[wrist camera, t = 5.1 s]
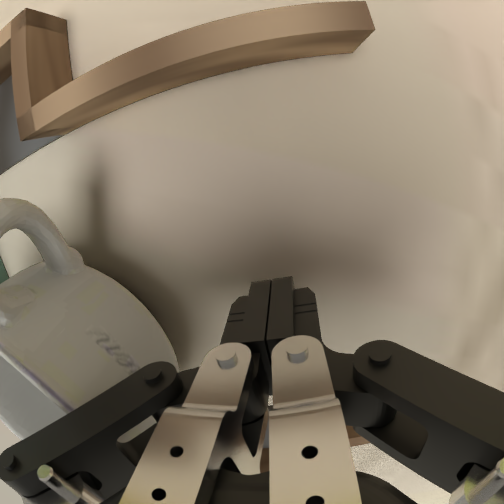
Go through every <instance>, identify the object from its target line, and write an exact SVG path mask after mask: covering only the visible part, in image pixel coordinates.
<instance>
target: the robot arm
mask: <svg viewBox="0 0 504 504" xmlns="http://www.w3.org/2000/svg"><path fill="white" fill-rule="evenodd" d="M269 395H273V409H270V411H268V408H267V407H268V398H269ZM151 415H152V416H153V418H154V419H155V420H156V422H157V423H155V424H154V425H152V426H151V427H149V428H148V429H146V430H145V431H144V432H142V433H141V434H139V435H138V436H136V437H135V438H133V439H132V440H130V441H128V442H125V443H121V442H118V441H117V439H118V438H119V437H120V436H121V435H123V434H124V433H126V432H127V431H129V430H130V429H132V428H133V427H135V426H136V425H138V424H139V423H141V422H142V421H144V420H145V419H147V418H148V417H150V416H151ZM268 417H269V469H270V471H267V472H263V473H260V459H261V454H262V449H263V443H264V438H265V433H266V428H267V423H268ZM346 425H347V426H352V427H353V429H354V430H355V432H356V433H358V434H359V435H360V436H362V437H363V438H365V439H366V440H367V441H369V442H370V443H372V444H373V445H375V446H376V447H378V448H379V449H380V450H382V451H383V452H385V453H386V454H388V455H389V456H391V457H392V458H394V459H395V460H397V461H398V462H400V463H401V464H403V465H405V466H406V467H408V468H409V469H411V470H412V471H414V472H416V473H417V474H419V475H420V476H422V477H424V478H425V479H427V480H429V481H430V482H432V483H434V484H435V485H437V486H439V487H440V488H442V489H444V490H445V491H447V492H449V493H451V497H450V500H449V504H504V392H501V391H499V390H497V389H495V388H492V387H490V386H488V385H486V384H483V383H481V382H479V381H477V380H475V379H472V378H470V377H468V376H466V375H463V374H461V373H459V372H457V371H455V370H453V369H450V368H448V367H446V366H444V365H442V364H439V363H437V362H435V361H433V360H431V359H429V358H426V357H424V356H422V355H420V354H418V353H416V352H414V351H411V350H409V349H407V348H405V347H403V346H401V345H399V344H397V343H394V342H391V341H386V340H376V341H371V342H368V343H366V344H364V345H362V346H361V347H359V348H358V349H357V350H356V352H355V353H354V354H344V353H338V352H335V351H332V350H330V349H329V348H327V347H326V346H325V345H324V344H323V342H322V339H321V332H320V325H319V318H318V312H317V305H316V299H315V294H314V293H313V292H312V291H311V290H310V289H309V288H308V287H307V288H300V289H294V283H293V278H292V276H291V277H284V278H277V279H272V280H264V281H257V282H252V283H251V287H250V291H249V296H243V297H239V298H238V299H237V300H236V301H235V302H234V303H233V304H232V306H231V309H230V312H229V316H228V319H227V323H226V326H225V329H224V333H223V336H222V339H221V343H220V345H219V346H217V347H215V348H213V349H212V350H210V351H209V352H208V353H207V354H206V355H205V357H204V359H203V361H202V363H201V366H200V367H197V368H193V369H190V370H186V371H182V372H177V370H176V368H175V366H174V365H173V364H171V363H169V362H165V361H158V362H153V363H150V364H148V365H146V366H144V367H142V368H141V369H139V370H138V371H136V372H135V373H133V374H131V375H130V376H128V377H127V378H125V379H124V380H122V381H120V382H119V383H117V384H116V385H114V386H112V387H111V388H109V389H108V390H106V391H104V392H103V393H101V394H100V395H98V396H96V397H95V398H93V399H91V400H90V401H88V402H86V403H85V404H83V405H82V406H80V407H78V408H77V409H75V410H73V411H72V412H70V413H68V414H67V415H65V416H63V417H61V418H60V419H58V420H56V421H55V422H53V423H51V424H50V425H48V426H46V427H44V428H43V429H41V430H39V431H37V432H36V433H34V434H32V435H30V436H29V437H27V438H25V439H23V440H22V441H20V442H18V443H16V444H15V445H13V446H11V447H9V448H7V449H6V450H5V451H3V453H2V454H1V455H0V479H2V480H3V481H4V482H5V483H6V484H8V485H9V486H10V487H12V488H13V489H14V490H15V491H17V492H18V494H19V495H20V496H21V497H22V499H23V502H24V504H417V503H416V502H415V501H413V500H412V499H410V498H409V497H408V496H406V495H405V494H403V493H402V492H401V491H399V490H398V489H397V488H395V487H394V486H392V485H391V484H389V483H388V482H386V481H384V480H382V479H380V478H378V477H375V476H373V475H370V474H366V473H363V472H358V471H355V466H354V462H353V457H352V452H351V448H350V443H349V439H348V434H347V430H346Z"/></svg>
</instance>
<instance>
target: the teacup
mask: <svg viewBox="0 0 504 504" xmlns="http://www.w3.org/2000/svg"><path fill="white" fill-rule="evenodd" d="M14 228H17V229H20V230H21V231H23V232H24V233H25V234H26V235H27V236H28V237H29V238H30V239H31V240H32V242H33V243H34V244H35V245H36V247H37V249H38V250H39V252H40V253H41V255H42V257H43V260H44V262H41V263H38V264H35V265H32V266H30V267H28V268H26V269H24V270H22V271H20V272H19V273H17V274H15V275H14V276H12V277H11V278H9V279H7V280H6V281H4V282H3V283H1V284H0V420H1V421H2V422H3V423H4V424H5V426H6V427H7V428H9V429H10V430H11V431H12V432H13V433H14V434H15V435H16V436H17V437H18V438H19V439H21V440H23V439H25V438H27V437H29V436H30V435H32V434H34V433H36V432H37V431H39V430H41V429H43V428H44V427H46V426H48V425H50V424H51V423H53V422H55V421H56V420H58V419H60V418H61V417H63V416H65V415H67V414H68V413H70V412H72V411H73V410H75V409H77V408H78V407H80V406H82V405H83V404H85V403H86V402H88V401H90V400H91V399H93V398H95V397H96V396H98V395H100V394H101V393H103V392H104V391H106V390H108V389H109V388H111V387H112V386H114V385H116V384H117V383H119V382H120V381H122V380H124V379H125V378H127V377H128V376H130V375H131V374H133V373H135V372H136V371H138V370H139V369H141V368H142V367H144V366H146V365H148V364H150V363H153V362H158V361H165V362H169V363H171V364H173V365H174V366H175V368H176V370H177V372H180V371H179V365H178V361H177V358H176V355H175V352H174V350H173V347H172V345H171V343H170V341H169V339H168V338H167V336H166V334H165V332H164V331H163V329H162V328H161V326H160V325H159V323H158V322H157V320H156V319H155V318H154V317H153V315H152V314H151V313H150V312H149V310H148V309H147V308H146V307H145V306H144V305H143V304H142V303H141V302H140V301H139V300H138V299H137V298H136V297H135V296H134V295H133V294H132V293H131V292H129V291H128V290H127V289H126V288H125V287H123V286H122V285H121V284H119V283H118V282H117V281H115V280H114V279H112V278H111V277H109V276H107V275H105V274H103V273H102V272H100V271H98V270H96V269H94V268H91V267H89V266H86V265H84V262H83V259H82V256H81V255H80V253H79V252H78V251H77V250H76V249H74V248H72V247H69V246H68V245H67V243H66V241H65V240H64V238H63V237H62V235H61V234H60V232H59V231H58V229H57V227H56V226H55V224H54V223H53V222H52V221H51V220H50V218H49V217H48V216H47V215H46V214H45V213H44V212H43V211H42V210H41V209H40V208H38V207H37V206H35V205H33V204H32V203H30V202H28V201H26V200H21V199H14V198H3V199H0V238H1V237H2V236H3V234H4V233H6V232H7V231H9V230H11V229H14ZM155 423H157V422H156V420H155V419H154V418H153V416H152V415H151V416H150V417H148V418H147V419H145V420H144V421H142V422H141V423H139V424H138V425H136V426H135V427H133V428H132V429H130V430H129V431H127V432H126V433H124V434H123V435H121V436H120V437H119V438H118V439H117V441H118V442H121V443H125V442H128V441H130V440H132V439H133V438H135V437H136V436H138V435H139V434H141V433H142V432H144V431H145V430H146V429H148V428H149V427H151V426H152V425H154V424H155Z"/></svg>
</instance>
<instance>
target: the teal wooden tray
mask: <svg viewBox="0 0 504 504" xmlns="http://www.w3.org/2000/svg"><path fill="white" fill-rule="evenodd" d="M374 30H375V27H374V24H373V21H372V18H371V15H370V12H369V9H368V7H367V4H366V1H348V2H325V3H312V4H302V5H294V6H286V7H279V8H273V9H267V10H261V11H256V12H251V13H246V14H241V15H237V16H232V17H228V18H224V19H220V20H217V21H213V22H209V23H206V24H202V25H199V26H196V27H192V28H189V29H186V30H183V31H180V32H177V33H174V34H172V35H169V36H166V37H163V38H161V39H158V40H155V41H153V42H150V43H148V44H145V45H143V46H141V47H138V48H136V49H134V50H131V51H129V52H127V53H125V54H123V55H120V56H118V57H116V58H114V59H112V60H110V61H108V62H106V63H104V64H102V65H100V66H98V67H96V68H94V69H93V70H91V71H89V72H87V73H85V74H83V75H82V76H80V77H78V78H76V79H75V80H72V73H71V65H70V57H69V48H68V38H67V25H66V20H64V19H61V18H58V17H55V16H52V15H49V14H46V13H43V12H39V11H36V10H32V9H28V8H25V9H24V10H23V11H22V12H21V13H19V14H18V15H17V16H16V17H15V18H14V19H13V20H12V21H10V22H9V23H8V24H7V25H6V26H5V27H4V28H3V29H2V30H1V31H0V175H1V174H2V173H3V172H5V171H6V170H8V169H9V168H11V167H12V166H14V165H15V164H17V163H18V162H20V161H21V160H23V159H24V158H26V157H28V156H29V155H31V154H32V153H34V152H36V151H37V150H39V149H41V148H42V147H44V146H46V145H47V144H49V143H51V142H53V141H54V140H56V139H58V138H60V137H62V136H64V135H65V134H67V133H69V132H71V131H73V130H75V129H77V128H79V127H81V126H83V125H85V124H87V123H89V122H91V121H93V120H95V119H97V118H99V117H101V116H104V115H106V114H108V113H110V112H113V111H115V110H117V109H119V108H122V107H124V106H127V105H129V104H131V103H134V102H136V101H139V100H141V99H144V98H147V97H149V96H152V95H155V94H158V93H160V92H163V91H166V90H169V89H172V88H175V87H178V86H181V85H184V84H187V83H191V82H194V81H197V80H201V79H204V78H208V77H211V76H215V75H219V74H222V73H226V72H230V71H235V70H239V69H243V68H248V67H252V66H257V65H262V64H267V63H273V62H278V61H284V60H291V59H297V58H305V57H312V56H321V55H331V54H343V53H353V52H354V51H355V50H356V49H357V47H358V46H359V45H360V44H361V43H362V42H363V41H364V40H365V39H366V38H367V37H368V36H369V35H370V34H371V33H372V32H373V31H374ZM7 279H9V277H8V275H7V272H6V270H5V267H4V265H3V263H2V260H1V258H0V284H1V283H3V282H4V281H6V280H7ZM267 408H268V411H270V409H273V406H268V407H267ZM346 430H347V434H348V439H349V443H350V447H352V446H357V445H363V444H368V443H370V442H369V441H367V440H366V439H365V438H363V437H362V436H360V435H359V434H358V433H356V432H355V430H354V429H353V427H352V426H347V425H346ZM267 471H270V469H269V417H268V423H267V428H266V433H265V438H264V443H263V449H262V454H261V459H260V473H263V472H267Z"/></svg>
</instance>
